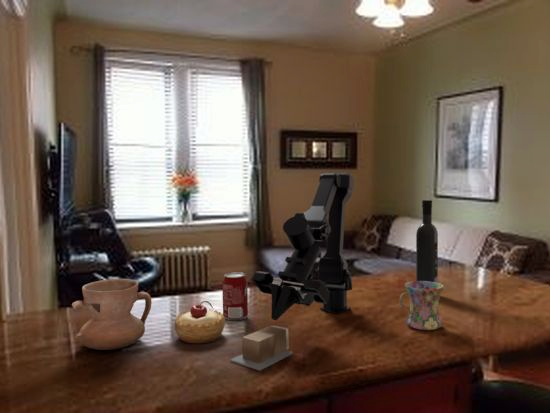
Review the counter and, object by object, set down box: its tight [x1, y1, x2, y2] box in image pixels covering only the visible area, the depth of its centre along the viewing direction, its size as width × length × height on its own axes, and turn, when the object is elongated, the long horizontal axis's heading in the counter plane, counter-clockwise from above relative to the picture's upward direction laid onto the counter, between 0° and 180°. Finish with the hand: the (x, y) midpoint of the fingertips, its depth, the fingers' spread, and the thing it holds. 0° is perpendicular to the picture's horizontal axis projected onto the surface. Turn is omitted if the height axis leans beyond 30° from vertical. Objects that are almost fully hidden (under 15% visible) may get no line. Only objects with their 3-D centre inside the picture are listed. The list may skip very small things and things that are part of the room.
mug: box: [398, 280, 445, 331], centre depth 117 cm, size 12×9×11 cm
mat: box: [230, 349, 294, 372], centre depth 100 cm, size 11×8×1 cm
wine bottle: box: [415, 199, 439, 283], centre depth 147 cm, size 6×6×30 cm
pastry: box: [174, 300, 226, 344], centre depth 113 cm, size 12×12×9 cm
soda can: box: [221, 272, 249, 322], centre depth 128 cm, size 7×7×12 cm
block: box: [241, 324, 290, 363], centre depth 101 cm, size 4×4×10 cm
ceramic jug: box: [71, 278, 153, 351], centre depth 109 cm, size 18×14×14 cm
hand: (273, 319), depth 103 cm, fingers closed
